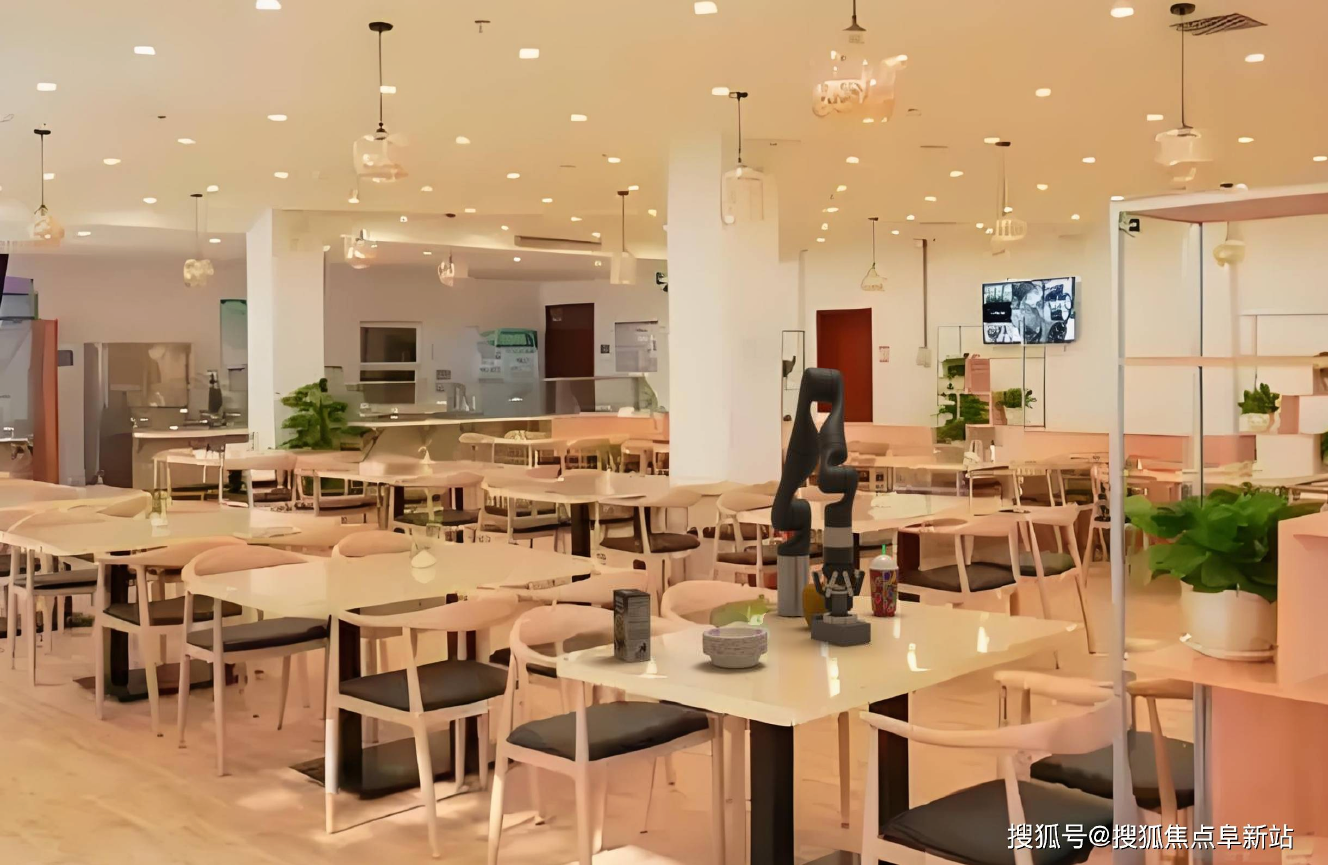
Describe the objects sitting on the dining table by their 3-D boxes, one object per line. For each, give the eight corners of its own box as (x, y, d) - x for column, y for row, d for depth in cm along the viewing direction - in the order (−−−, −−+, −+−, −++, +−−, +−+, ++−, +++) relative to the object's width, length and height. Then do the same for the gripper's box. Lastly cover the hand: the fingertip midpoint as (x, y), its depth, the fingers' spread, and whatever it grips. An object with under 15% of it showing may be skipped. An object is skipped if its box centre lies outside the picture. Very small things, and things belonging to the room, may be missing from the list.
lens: (827, 618, 326) (827, 585, 325) (845, 618, 326) (845, 585, 326) (832, 621, 321) (831, 588, 321) (850, 621, 322) (849, 588, 321)
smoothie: (901, 617, 357) (900, 546, 356) (871, 617, 357) (871, 547, 356) (896, 612, 365) (895, 543, 365) (867, 612, 365) (866, 543, 365)
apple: (823, 634, 333) (822, 585, 333) (793, 628, 341) (792, 581, 341) (850, 628, 340) (850, 581, 340) (820, 623, 349) (820, 577, 348)
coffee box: (612, 655, 308) (612, 589, 307) (637, 653, 310) (636, 587, 310) (626, 662, 299) (625, 594, 299) (651, 660, 302) (651, 593, 302)
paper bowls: (702, 658, 304) (702, 625, 304) (766, 658, 304) (765, 625, 303) (702, 672, 289) (702, 637, 289) (769, 671, 288) (769, 637, 288)
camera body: (810, 638, 327) (810, 613, 327) (838, 634, 332) (838, 609, 332) (842, 646, 316) (842, 620, 316) (870, 642, 321) (870, 617, 320)
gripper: (861, 542, 328) (861, 607, 328) (807, 543, 326) (807, 609, 327) (869, 545, 320) (869, 612, 321) (814, 546, 319) (814, 614, 319)
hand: (838, 610), depth 324 cm, fingers closed on lens, 4 cm apart
